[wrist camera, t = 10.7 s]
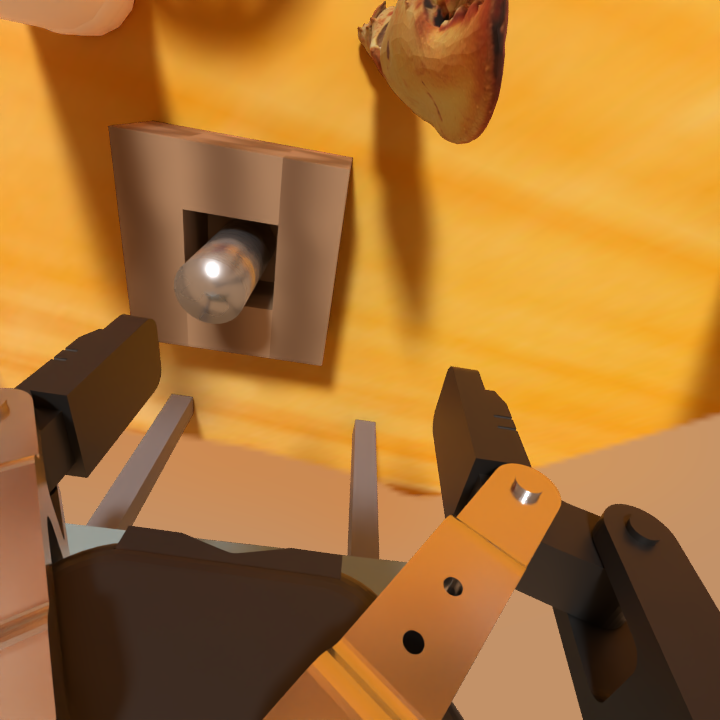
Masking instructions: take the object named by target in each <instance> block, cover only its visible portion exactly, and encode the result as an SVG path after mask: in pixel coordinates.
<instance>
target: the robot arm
mask: <svg viewBox="0 0 720 720" xmlns="http://www.w3.org/2000/svg"><path fill="white" fill-rule="evenodd" d="M160 377H161V361H160V351H159V341H158V332H157V325H156V322H155V321H154V320H153V319H151V318H144V317H138V316H132V315H125V314H123V315H120V316H119V317H118V318H116V319H115V320H114V321H113V322H112V323H110V324H109V325H108V326H107V327H106V328H104V329H103V330H102V329H98V330H96V331H93V332H91V333H88V334H86V335H83V336H81V337H79V338H78V339H76V340H75V341H74V342H73V343H71V344H70V345H69V346H67V347H66V350H62V351H61V352H60V353H59V354H57V355H56V356H55V357H54V360H53V359H51V360H50V361H48V362H47V363H46V364H45V365H43V366H42V367H41V368H40V369H38V370H37V371H36V372H35V373H33V374H32V375H31V376H29V377H28V378H27V379H26V380H24V381H23V382H22V383H21V384H19V385H18V386H17V387H16V388H14V389H13V388H0V720H464V719H463V717H462V716H461V715H460V713H459V711H458V710H457V709H456V707H455V705H454V704H453V703H452V700H453V698H454V697H455V695H456V693H457V691H458V689H459V688H460V686H461V684H462V682H463V681H464V679H465V677H466V675H467V674H468V672H469V670H470V668H471V666H472V665H473V663H474V661H475V659H476V657H477V656H478V654H479V652H480V650H481V649H482V647H483V645H484V643H485V641H486V640H487V638H488V636H489V634H490V632H491V631H492V629H493V627H494V625H495V623H496V622H497V620H498V618H499V616H500V615H501V613H502V611H503V609H504V607H505V606H506V603H507V602H508V600H509V599H510V596H511V595H512V593H513V591H514V590H515V589H516V590H518V591H520V592H522V593H525V594H527V595H529V596H532V597H533V598H535V599H538V600H540V601H542V602H544V603H546V604H549V605H551V606H552V607H553V610H554V614H555V618H556V622H557V625H558V629H559V633H560V636H561V640H562V643H563V648H564V651H565V655H566V658H567V662H568V666H569V670H570V673H571V677H572V680H573V684H574V688H575V691H576V695H577V699H578V702H579V706H580V710H581V713H582V717H583V720H720V612H719V610H718V608H717V607H716V605H715V603H714V602H713V600H712V598H711V597H710V595H709V593H708V592H707V590H706V588H705V586H704V585H703V583H702V581H701V580H700V578H699V577H698V575H697V573H696V571H695V570H694V568H693V566H692V565H691V563H690V561H689V560H688V558H687V556H686V555H685V553H684V551H683V550H682V548H681V546H680V545H679V543H678V541H677V540H676V538H675V537H674V535H673V534H672V533H671V532H670V530H669V529H668V528H667V527H666V526H664V524H662V523H661V522H660V521H659V520H657V519H656V518H655V517H653V516H652V515H650V514H648V513H647V512H645V511H643V510H641V509H638V508H636V507H633V506H629V505H624V504H615V505H611V506H609V507H608V508H607V509H606V510H605V511H604V513H603V514H602V516H601V517H600V516H598V515H595V514H593V513H590V512H588V511H585V510H582V509H580V508H577V507H575V506H572V505H570V504H568V503H566V502H564V501H562V500H561V496H560V493H559V491H558V489H557V488H556V486H555V485H554V484H553V483H552V481H550V480H549V479H548V478H547V477H546V476H545V475H543V474H542V473H540V472H539V471H537V470H535V469H533V468H532V467H531V465H530V462H529V460H528V457H527V455H526V452H525V449H524V447H523V444H522V442H521V439H520V437H519V434H518V432H517V431H516V427H515V424H514V422H513V420H511V418H512V417H511V414H510V412H509V409H508V407H507V404H506V403H505V402H504V401H503V400H502V399H501V398H500V397H499V396H498V395H497V393H496V392H495V391H490V390H485V388H484V385H483V382H482V380H481V377H480V374H479V372H478V371H477V370H471V369H465V368H458V367H452V366H451V367H450V368H449V369H448V371H447V374H446V377H445V380H444V384H443V387H442V390H441V393H440V397H439V400H438V403H437V406H436V410H435V414H434V419H433V437H434V444H435V451H436V458H437V465H438V472H439V479H440V486H441V493H442V500H443V506H444V514H445V520H444V521H443V522H442V523H441V524H440V525H439V527H438V528H437V529H436V530H435V531H434V532H433V534H432V535H431V536H430V537H429V538H428V539H427V540H426V542H425V543H424V544H423V545H422V546H421V548H420V549H419V550H418V551H417V552H416V553H415V555H414V556H413V557H412V558H411V559H410V560H409V561H408V562H407V564H406V565H405V566H404V567H403V568H402V569H401V571H400V572H399V573H398V574H397V575H396V576H395V577H394V579H393V580H392V581H391V582H390V583H389V584H388V586H387V587H386V588H385V589H384V590H383V591H382V592H381V594H380V595H379V596H378V595H377V594H376V593H374V592H373V591H372V590H371V589H370V588H368V587H367V586H366V585H364V584H363V583H361V582H360V581H358V580H356V579H354V578H353V577H351V576H349V575H346V574H344V573H342V572H341V568H342V557H343V555H337V554H330V553H321V552H315V551H308V550H301V549H294V548H287V549H276V550H266V551H255V552H245V553H230V552H227V551H225V550H222V549H220V548H217V547H215V546H212V545H210V544H208V543H205V542H203V541H200V540H198V539H195V538H193V537H190V536H188V535H186V534H183V533H179V532H171V531H164V530H156V529H150V528H142V527H135V526H128V528H127V529H126V531H125V533H124V534H123V536H122V538H121V539H120V541H119V543H113V544H107V545H102V546H97V547H94V548H90V549H87V550H84V551H81V552H78V553H76V554H73V555H70V552H69V545H68V539H67V532H66V526H65V519H64V512H63V506H62V500H61V493H60V489H59V486H58V483H59V482H60V480H61V479H62V478H63V477H64V476H65V475H71V476H78V477H85V478H87V477H88V476H89V475H90V474H91V472H92V471H93V470H94V468H95V467H96V466H97V464H98V463H99V462H100V460H101V459H102V458H103V457H104V456H105V454H106V453H107V452H108V450H109V449H110V448H111V446H112V445H113V444H114V443H115V441H116V440H117V439H118V438H119V436H120V435H121V434H122V432H123V431H124V430H125V429H126V427H127V426H128V425H129V424H130V422H131V421H132V420H133V418H134V417H135V416H136V415H137V413H138V412H139V411H140V409H141V408H142V407H143V406H144V404H145V403H146V402H147V400H148V399H149V398H150V397H151V395H152V394H153V393H154V391H155V390H156V388H157V386H158V384H159V381H160Z"/></svg>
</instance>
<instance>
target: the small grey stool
mask: <svg viewBox="0 0 720 720" xmlns="http://www.w3.org/2000/svg"><path fill="white" fill-rule="evenodd" d="M192 415H193V397H189V396H182V395H175V394H172V395H171V396H170V398H169V399H168V401H167V402H166V404H165V405H164V407H163V408H162V410H161V411H160V413H159V414H158V416H157V418H156V419H155V421H154V422H153V424H152V425H151V427H150V428H149V430H148V431H147V433H146V434H145V436H144V437H143V439H142V441H141V442H140V444H139V445H138V447H137V448H136V450H135V452H134V453H133V454H132V456H131V458H130V459H129V460H128V462H127V463H126V465H125V467H124V468H123V470H122V471H121V473H120V474H119V476H118V477H117V479H116V480H115V482H114V483H113V485H112V486H111V488H110V490H109V491H108V493H107V494H106V496H105V497H104V499H103V500H102V502H101V503H100V505H99V506H98V508H97V509H96V511H95V512H94V514H93V516H92V517H91V519H90V520H89V522H88V523H87V525H86V526H83V525H75V524H66V523H65V526H66V532H67V539H68V545H69V552H70V555H73V554H76V553H78V552H81V551H84V550H87V549H90V548H94V547H97V546H102V545H107V544H113V543H119V541H120V539H121V538H122V536H123V534H124V533H125V531H126V529H127V528H128V526H132V525H133V523H134V521H135V519H136V517H137V515H138V514H139V512H140V510H141V508H142V506H143V505H144V503H145V501H146V499H147V497H148V495H149V494H150V492H151V490H152V488H153V486H154V484H155V483H156V481H157V479H158V477H159V475H160V473H161V472H162V470H163V468H164V466H165V464H166V462H167V461H168V459H169V457H170V455H171V453H172V451H173V450H174V448H175V446H176V444H177V442H178V440H179V439H180V437H181V435H182V433H183V431H184V429H185V428H186V426H187V424H188V422H189V420H190V419H191V417H192ZM348 533H349V534H348V556H345V555H343V557H342V568H341V572H342V573H344V574H346V575H349V576H351V577H353V578H354V579H356V580H358V581H360V582H361V583H363V584H364V585H366V586H367V587H368V588H370V589H371V590H372V591H373V592H374V593H376V594H377V595H378V596H379V595H380V594H381V592H382V591H383V590H384V589H385V588H386V587H387V586H388V584H389V583H390V582H391V581H392V580H393V579H394V577H395V576H396V575H397V574H398V573H399V572H400V571H401V569H402V568H403V567H404V566H405V565H406V564H407V562H398V561H390V560H381V559H379V542H378V541H379V539H378V538H379V537H378V503H377V466H376V431H375V422H370V421H363V420H355V425H354V429H353V434H352V458H351V484H350V508H349V532H348ZM195 539H197V538H195ZM198 540H200V541H203V542H205V543H208V544H210V545H212V546H215V547H217V548H220V549H222V550H225V551H227V552H230V553H245V552H255V551H266V550H276V549H284V548H276V547H267V546H258V545H250V544H241V543H232V542H223V541H215V540H206V539H198Z"/></svg>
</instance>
